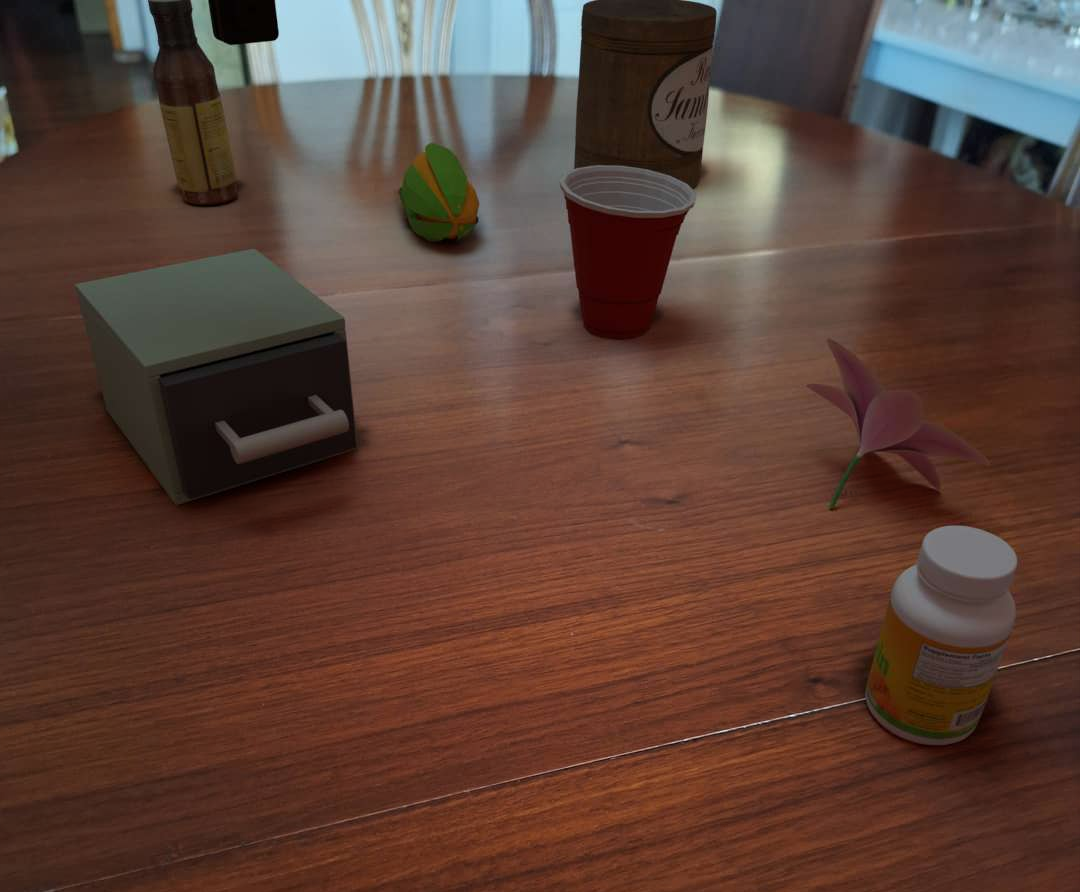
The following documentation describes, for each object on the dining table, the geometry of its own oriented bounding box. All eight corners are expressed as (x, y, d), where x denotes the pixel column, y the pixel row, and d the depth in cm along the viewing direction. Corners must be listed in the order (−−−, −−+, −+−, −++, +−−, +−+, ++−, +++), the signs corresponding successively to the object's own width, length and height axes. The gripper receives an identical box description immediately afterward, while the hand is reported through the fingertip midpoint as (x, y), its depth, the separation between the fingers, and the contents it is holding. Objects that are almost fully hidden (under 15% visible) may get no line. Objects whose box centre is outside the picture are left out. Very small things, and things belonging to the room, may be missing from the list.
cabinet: (358, 449, 71) (345, 317, 65) (175, 506, 65) (144, 366, 59) (272, 368, 80) (254, 247, 75) (107, 411, 74) (74, 283, 69)
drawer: (387, 475, 66) (377, 364, 62) (214, 532, 61) (190, 415, 56) (275, 371, 78) (260, 271, 73) (122, 411, 73) (96, 306, 68)
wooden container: (685, 204, 115) (706, -21, 102) (557, 188, 118) (563, -30, 106) (711, 168, 126) (733, -38, 113) (594, 155, 130) (603, -46, 117)
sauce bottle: (236, 187, 117) (206, -10, 105) (241, 204, 112) (210, 0, 100) (176, 192, 115) (138, -8, 104) (178, 210, 110) (139, 2, 99)
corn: (413, 177, 95) (385, 122, 111) (412, 257, 100) (385, 194, 115) (492, 178, 97) (453, 124, 113) (487, 257, 101) (451, 194, 117)
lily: (975, 564, 63) (1044, 414, 61) (815, 511, 59) (883, 350, 57) (868, 512, 74) (923, 384, 72) (728, 464, 70) (782, 328, 68)
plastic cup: (665, 362, 82) (679, 212, 75) (537, 340, 85) (539, 193, 78) (696, 311, 91) (712, 171, 84) (579, 293, 93) (584, 156, 86)
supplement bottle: (865, 662, 54) (907, 506, 48) (974, 683, 53) (1030, 527, 47) (860, 734, 50) (905, 574, 44) (979, 760, 48) (1040, 598, 43)
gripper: (58, -392, 50) (137, 25, 61) (158, -434, 40) (232, 73, 51) (208, -377, 54) (258, 15, 64) (334, -412, 44) (369, 57, 55)
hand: (247, 39), depth 58 cm, fingers closed
